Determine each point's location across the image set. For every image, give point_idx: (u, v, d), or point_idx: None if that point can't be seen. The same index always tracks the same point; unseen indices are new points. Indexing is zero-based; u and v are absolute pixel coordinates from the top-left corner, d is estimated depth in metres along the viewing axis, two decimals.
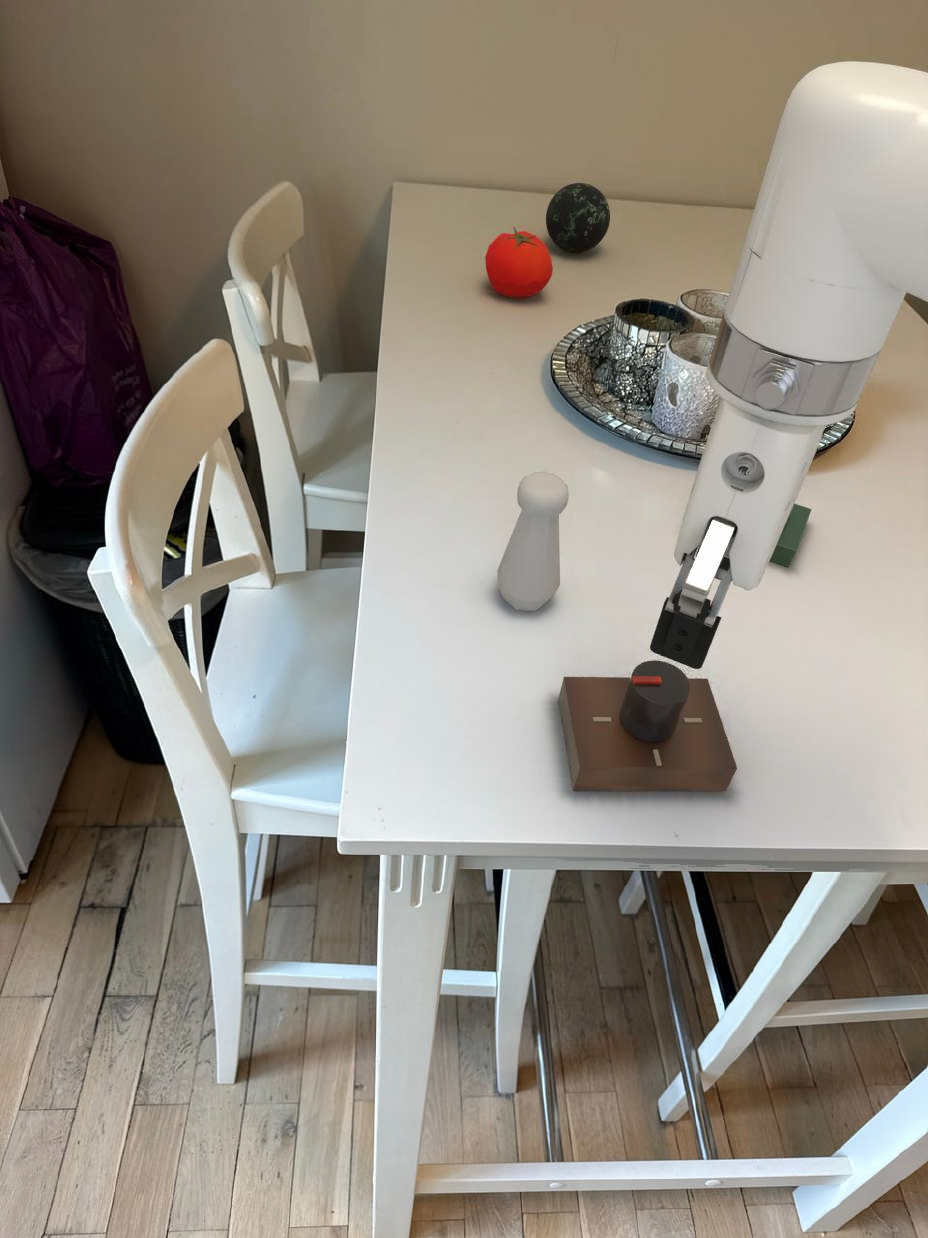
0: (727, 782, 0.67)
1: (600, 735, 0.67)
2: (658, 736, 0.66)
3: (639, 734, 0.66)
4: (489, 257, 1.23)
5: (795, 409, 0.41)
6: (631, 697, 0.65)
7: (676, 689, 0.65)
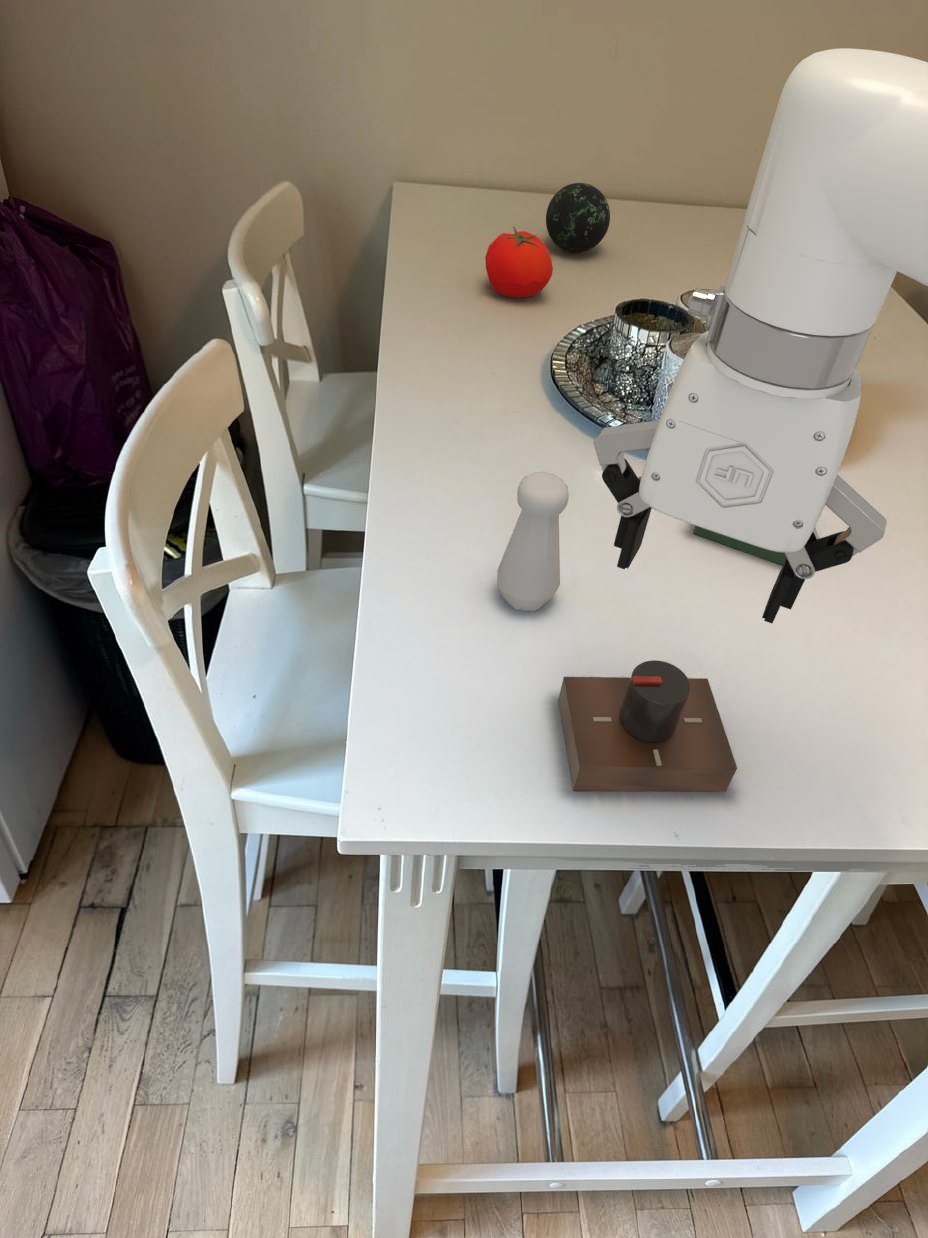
0: (727, 782, 0.67)
1: (600, 735, 0.67)
2: (658, 736, 0.66)
3: (639, 734, 0.66)
4: (489, 257, 1.23)
5: (707, 335, 0.46)
6: (631, 697, 0.65)
7: (676, 689, 0.65)
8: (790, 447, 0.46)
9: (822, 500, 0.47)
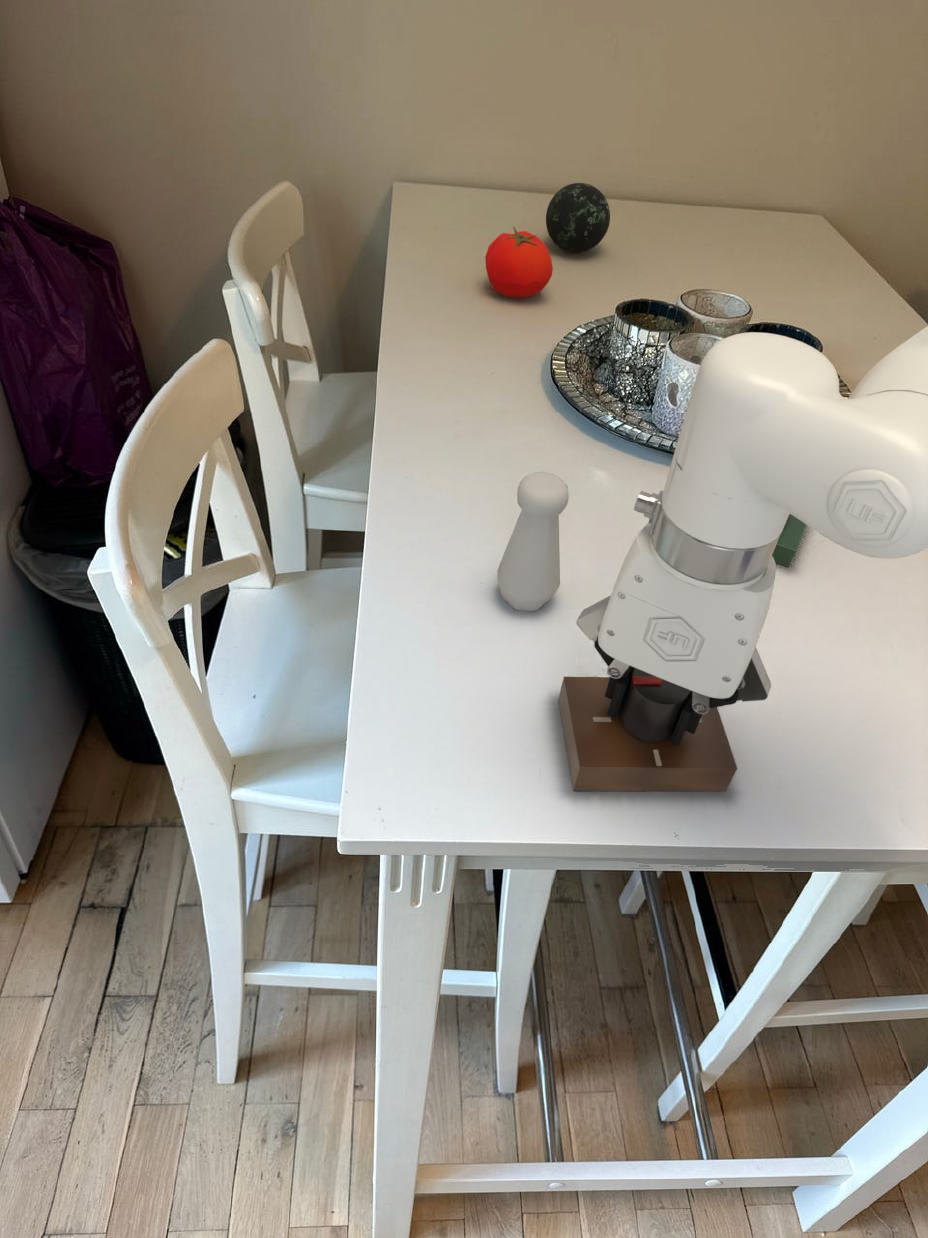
0: (727, 782, 0.67)
1: (600, 735, 0.67)
2: (658, 736, 0.66)
3: (639, 734, 0.66)
4: (489, 257, 1.23)
5: (649, 530, 0.56)
6: (631, 697, 0.65)
7: (676, 689, 0.65)
8: (717, 622, 0.56)
9: (745, 662, 0.57)
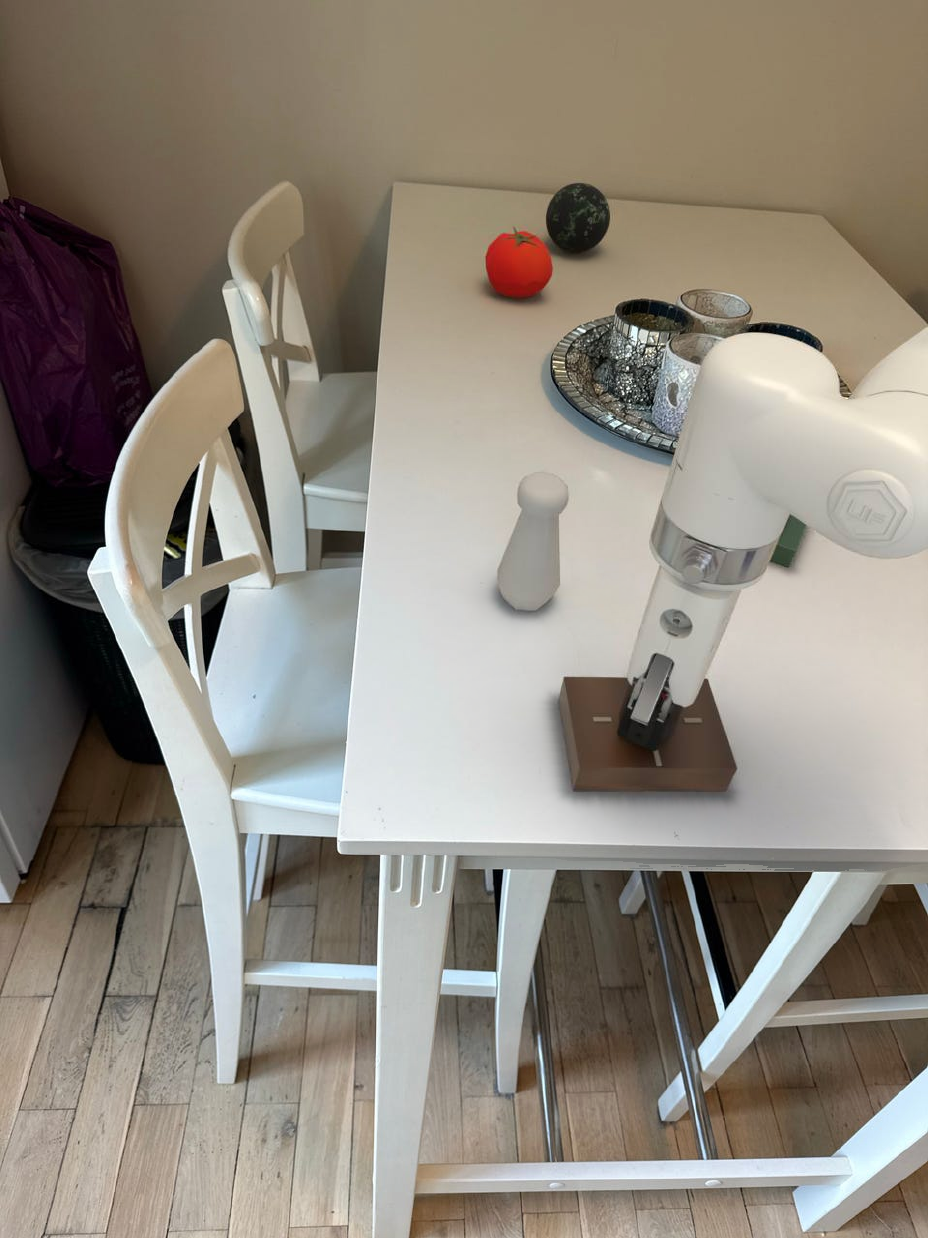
0: (727, 782, 0.67)
1: (600, 735, 0.67)
2: None
3: None
4: (489, 257, 1.23)
5: (714, 580, 0.53)
6: (671, 714, 0.65)
7: None
8: None
9: None
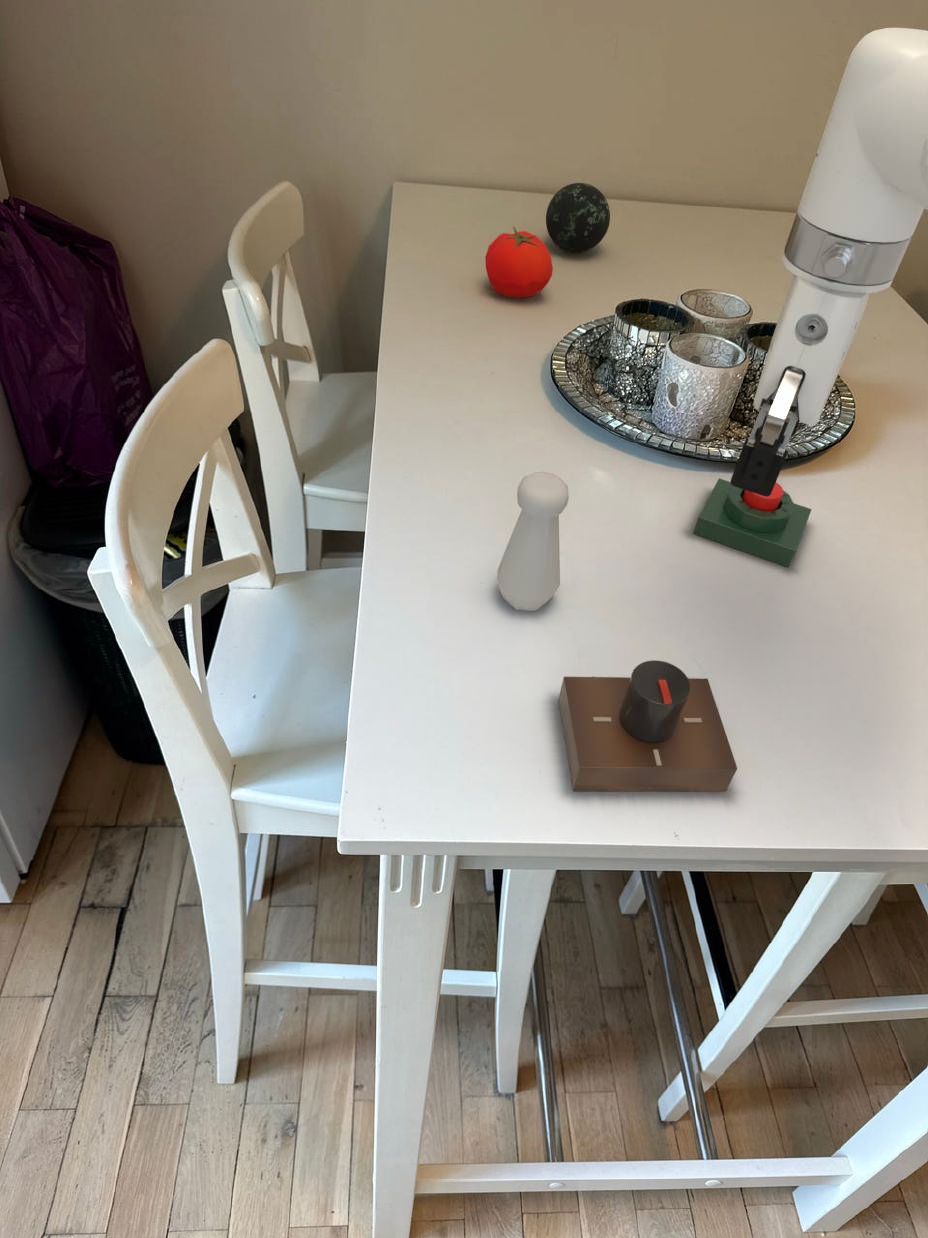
0: (727, 782, 0.67)
1: (600, 735, 0.67)
2: None
3: None
4: (489, 257, 1.23)
5: (851, 279, 0.57)
6: (670, 714, 0.65)
7: (667, 671, 0.66)
8: None
9: None
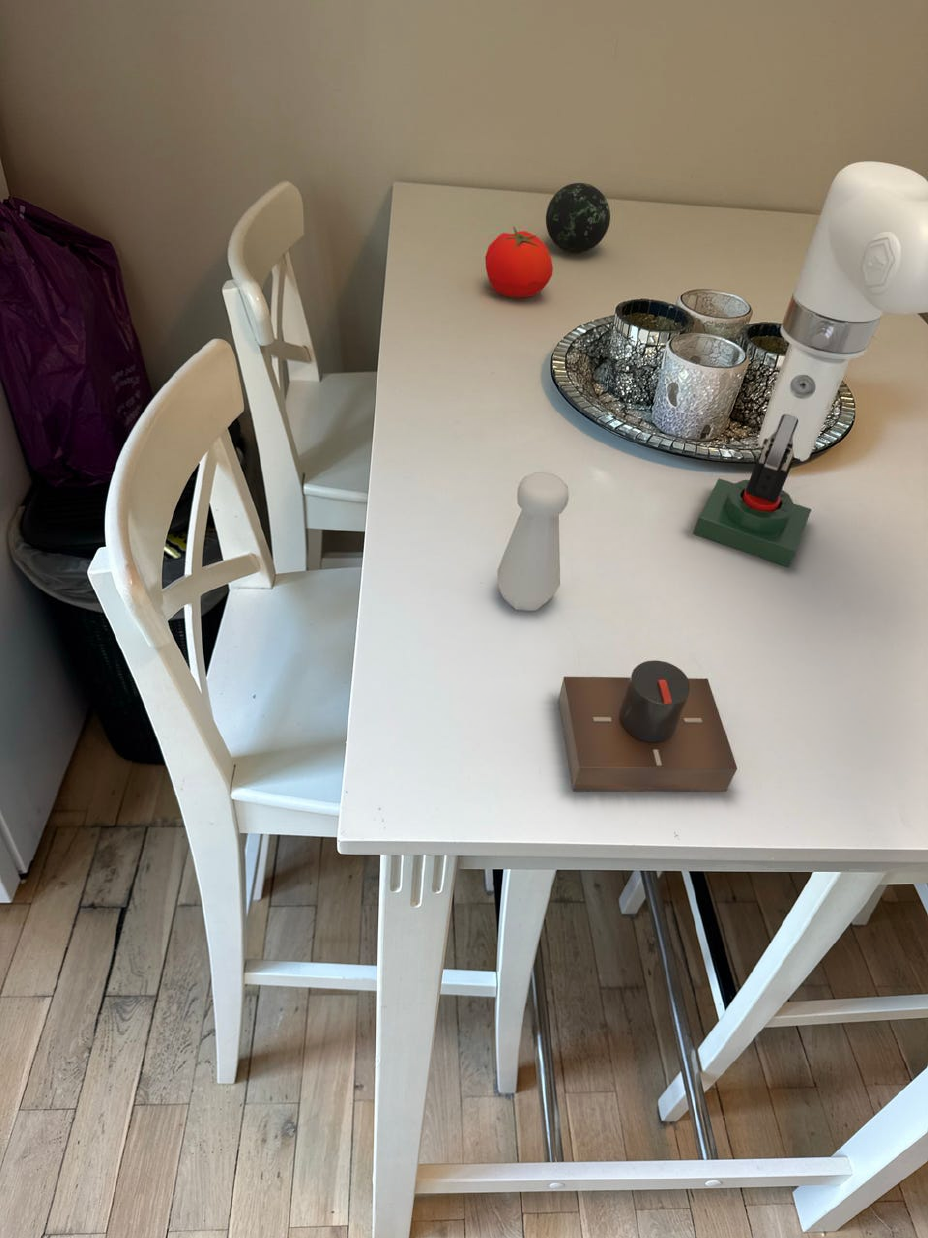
0: (727, 782, 0.67)
1: (600, 735, 0.67)
2: None
3: None
4: (489, 257, 1.23)
5: (833, 349, 0.74)
6: (670, 714, 0.65)
7: (667, 671, 0.66)
8: None
9: None
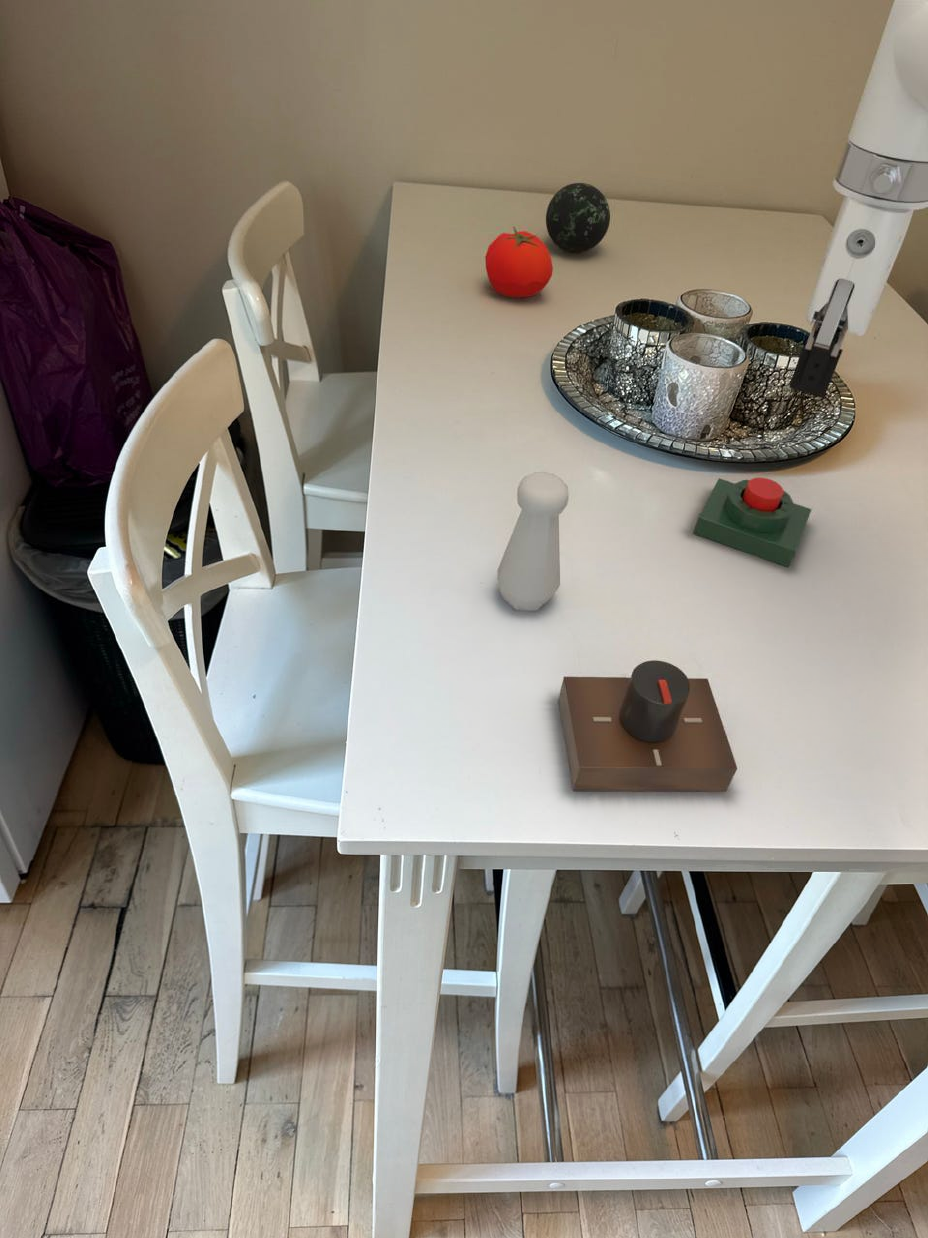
0: (727, 782, 0.67)
1: (600, 735, 0.67)
2: None
3: None
4: (489, 257, 1.23)
5: (896, 196, 0.65)
6: (670, 714, 0.65)
7: (667, 671, 0.66)
8: None
9: None
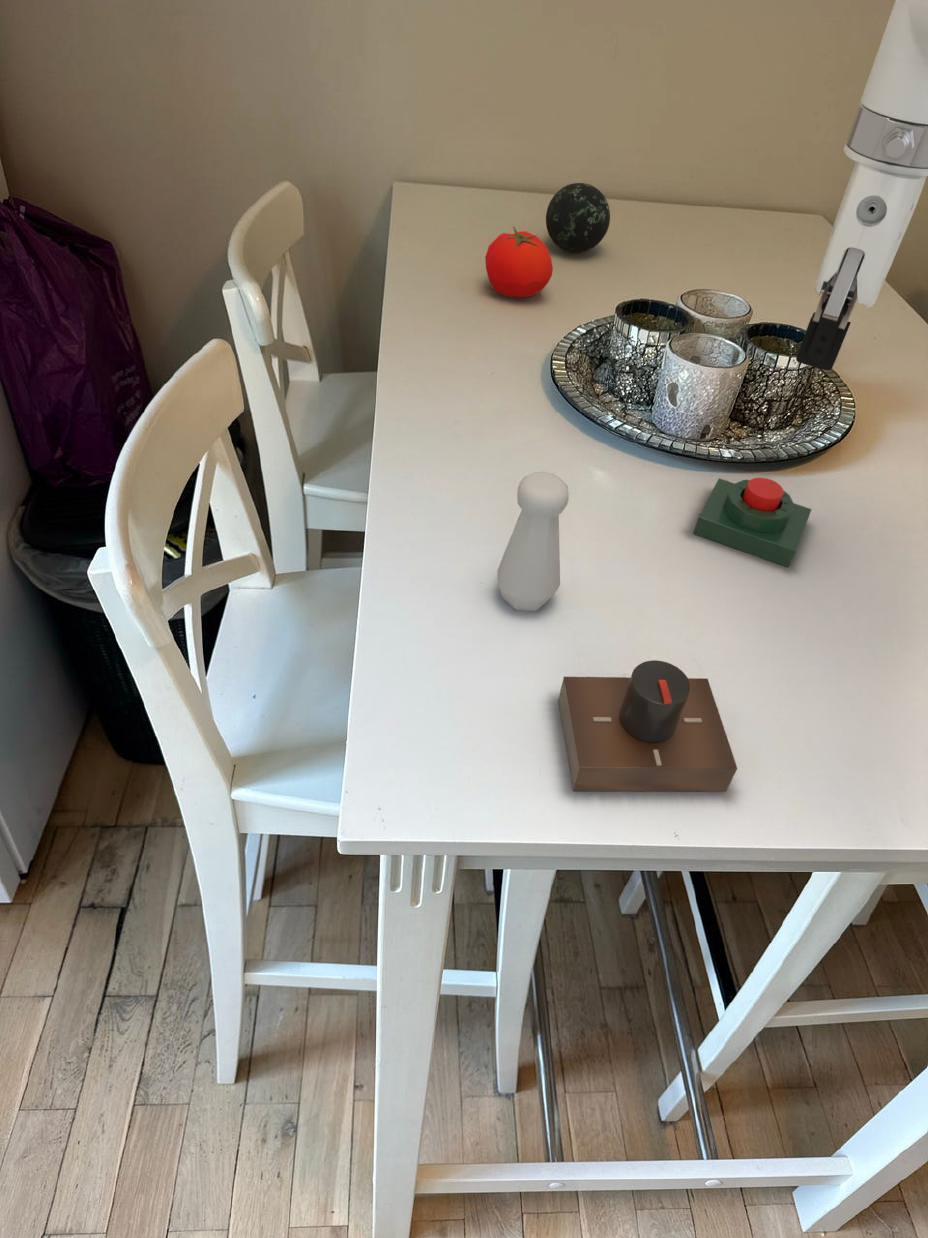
0: (727, 782, 0.67)
1: (600, 735, 0.67)
2: None
3: None
4: (489, 257, 1.23)
5: (909, 161, 0.63)
6: (670, 714, 0.65)
7: (667, 671, 0.66)
8: None
9: None
